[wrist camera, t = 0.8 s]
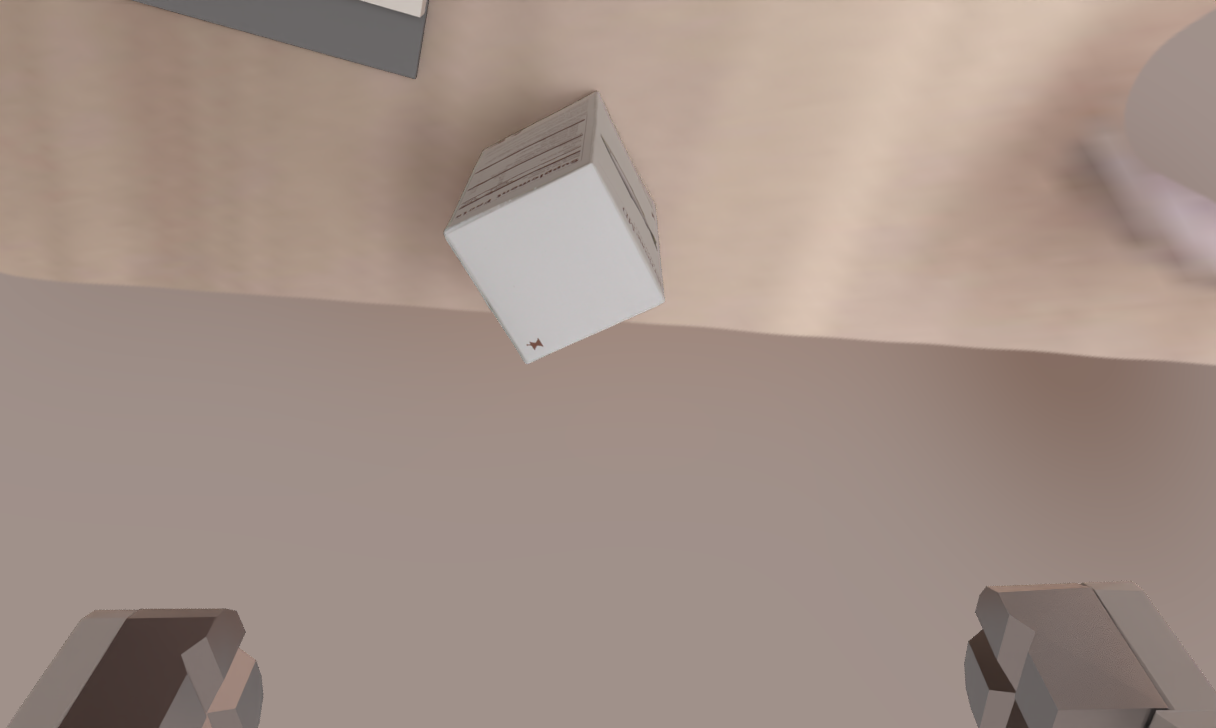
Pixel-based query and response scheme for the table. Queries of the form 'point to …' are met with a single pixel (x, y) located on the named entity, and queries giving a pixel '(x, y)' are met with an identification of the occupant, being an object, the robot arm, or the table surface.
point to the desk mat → (321, 27)
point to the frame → (402, 5)
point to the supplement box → (559, 231)
